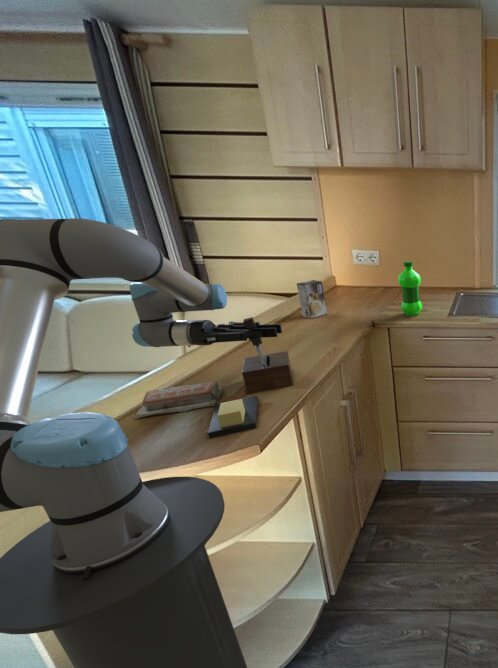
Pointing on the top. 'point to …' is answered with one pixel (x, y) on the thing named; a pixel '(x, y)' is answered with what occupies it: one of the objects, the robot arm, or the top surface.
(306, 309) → the coffee box
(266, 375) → the knife block
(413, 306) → the plastic bottle
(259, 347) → the knife
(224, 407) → the butter left
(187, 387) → the packaged product
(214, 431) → the cutting board
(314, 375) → the top surface
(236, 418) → the butter right
